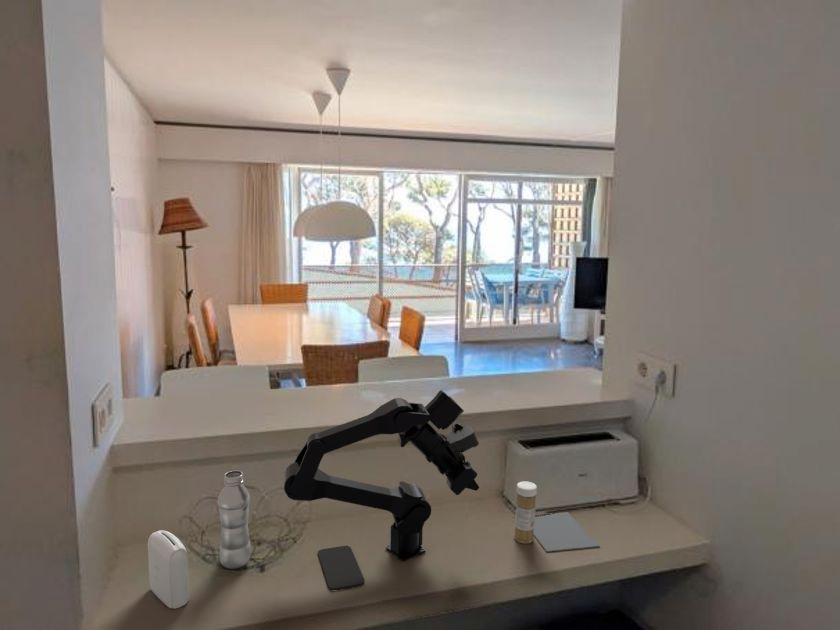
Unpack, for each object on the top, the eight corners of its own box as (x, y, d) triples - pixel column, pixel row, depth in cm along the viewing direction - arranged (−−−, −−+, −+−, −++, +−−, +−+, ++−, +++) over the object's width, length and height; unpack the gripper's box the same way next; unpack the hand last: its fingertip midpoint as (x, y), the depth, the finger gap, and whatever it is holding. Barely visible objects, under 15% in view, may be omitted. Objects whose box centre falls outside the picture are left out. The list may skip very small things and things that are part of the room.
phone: (349, 544, 132) (366, 582, 118) (349, 548, 133) (366, 586, 119) (316, 549, 130) (329, 589, 116) (316, 553, 130) (329, 593, 116)
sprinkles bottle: (522, 532, 141) (525, 478, 138) (537, 540, 137) (541, 485, 135) (509, 538, 138) (512, 483, 136) (524, 546, 134) (528, 491, 132)
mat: (546, 552, 132) (546, 551, 132) (519, 517, 148) (519, 516, 148) (599, 546, 135) (599, 545, 135) (567, 513, 150) (567, 512, 150)
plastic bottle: (257, 558, 127) (256, 469, 124) (240, 576, 120) (238, 483, 117) (231, 553, 128) (229, 465, 125) (212, 570, 122) (210, 478, 119)
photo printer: (146, 588, 115) (143, 529, 113) (168, 579, 119) (166, 521, 117) (170, 613, 108) (167, 550, 107) (192, 602, 112) (190, 541, 110)
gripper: (469, 432, 120) (517, 479, 124) (445, 404, 138) (488, 446, 142) (430, 471, 119) (480, 518, 124) (411, 438, 137) (456, 479, 142)
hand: (477, 487), depth 133 cm, fingers closed
